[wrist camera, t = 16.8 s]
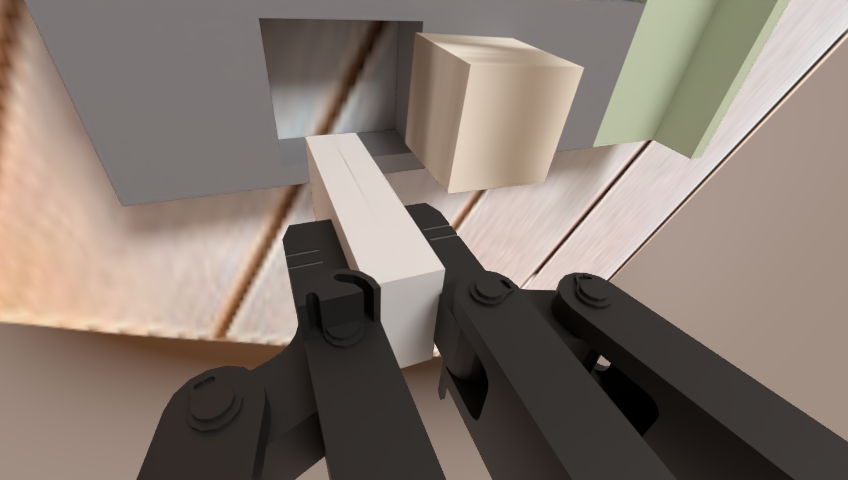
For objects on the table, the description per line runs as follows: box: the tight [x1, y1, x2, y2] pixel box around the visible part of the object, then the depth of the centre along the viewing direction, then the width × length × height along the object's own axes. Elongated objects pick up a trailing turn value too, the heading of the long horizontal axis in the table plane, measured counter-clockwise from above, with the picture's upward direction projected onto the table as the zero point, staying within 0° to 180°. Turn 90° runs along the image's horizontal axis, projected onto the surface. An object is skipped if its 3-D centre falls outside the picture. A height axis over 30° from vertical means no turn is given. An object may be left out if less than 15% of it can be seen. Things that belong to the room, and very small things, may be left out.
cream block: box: [405, 32, 584, 194], centre depth 17 cm, size 5×5×5 cm
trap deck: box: [24, 0, 790, 206], centre depth 17 cm, size 32×15×6 cm, turn 86°
